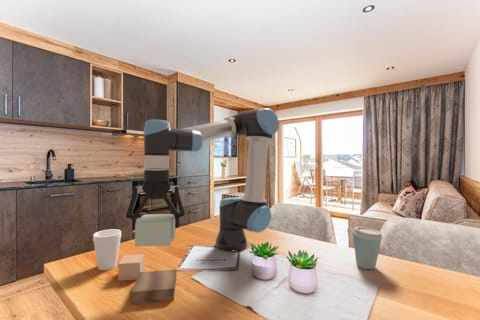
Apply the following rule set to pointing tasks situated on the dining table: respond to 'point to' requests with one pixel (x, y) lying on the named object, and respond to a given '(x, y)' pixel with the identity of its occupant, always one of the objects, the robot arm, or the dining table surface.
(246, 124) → the robot arm
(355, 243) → the disposable coffee cup
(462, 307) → the dining table surface
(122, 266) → the beige cube
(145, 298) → the walnut base
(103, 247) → the foam cup
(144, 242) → the sage brick
